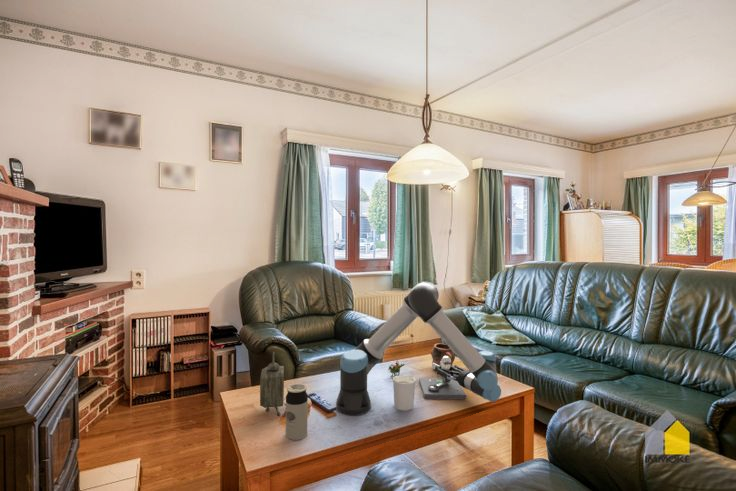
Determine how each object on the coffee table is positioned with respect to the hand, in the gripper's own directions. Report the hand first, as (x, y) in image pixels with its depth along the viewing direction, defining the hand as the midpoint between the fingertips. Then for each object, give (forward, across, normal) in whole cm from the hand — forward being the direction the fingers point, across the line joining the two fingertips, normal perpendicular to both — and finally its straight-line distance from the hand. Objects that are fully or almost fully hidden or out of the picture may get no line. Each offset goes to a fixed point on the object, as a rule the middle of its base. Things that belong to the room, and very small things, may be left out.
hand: (436, 364), depth 189 cm
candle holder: (-14, -29, -10) cm, 33 cm away
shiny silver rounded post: (-8, -5, -7) cm, 12 cm away
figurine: (+17, -13, -10) cm, 24 cm away
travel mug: (-15, -78, -10) cm, 80 cm away
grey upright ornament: (+7, -81, -9) cm, 82 cm away
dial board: (-8, -3, -10) cm, 13 cm away
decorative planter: (+12, +14, -10) cm, 21 cm away
